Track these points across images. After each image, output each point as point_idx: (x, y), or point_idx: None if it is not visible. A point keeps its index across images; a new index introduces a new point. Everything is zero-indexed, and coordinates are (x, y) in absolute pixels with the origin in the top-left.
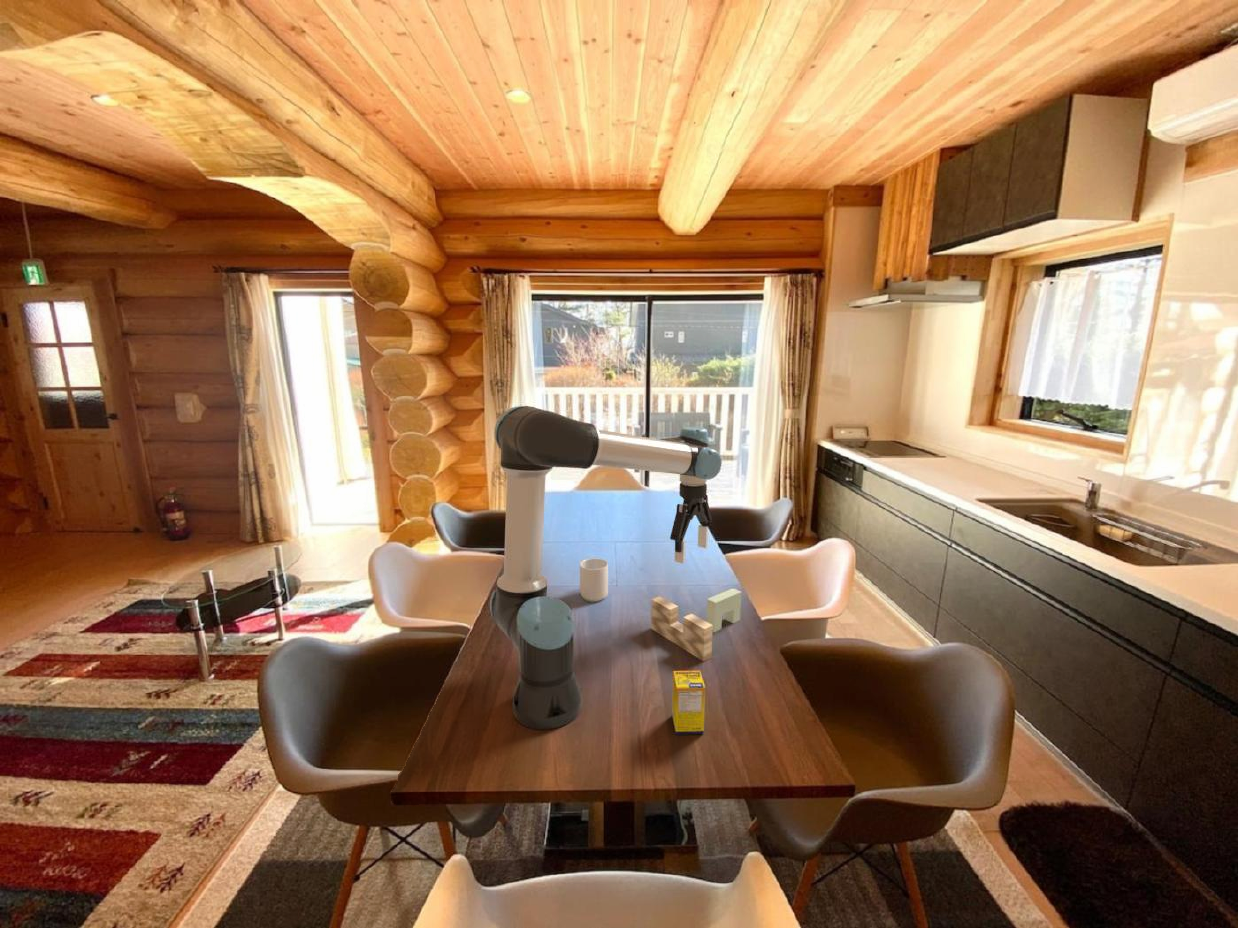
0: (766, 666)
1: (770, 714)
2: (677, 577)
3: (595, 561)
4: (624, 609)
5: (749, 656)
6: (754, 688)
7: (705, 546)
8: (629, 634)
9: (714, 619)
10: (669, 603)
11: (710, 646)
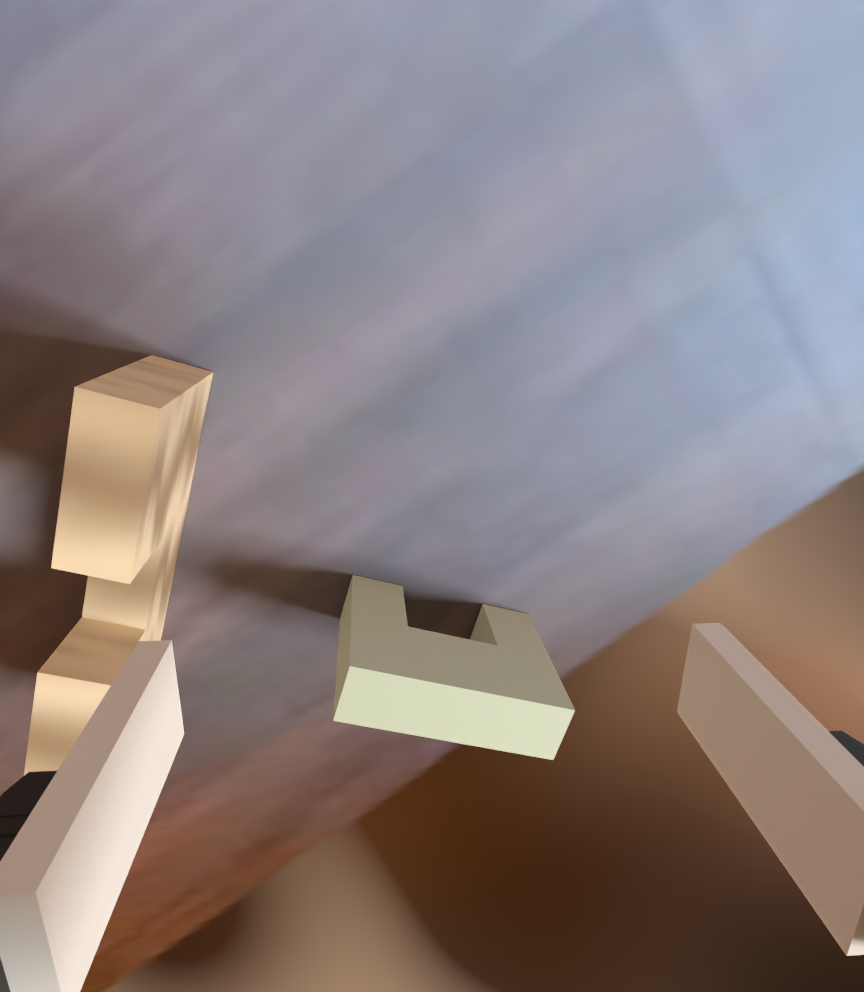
0: (245, 852)
1: None
2: (842, 130)
3: None
4: (223, 64)
5: (264, 790)
6: None
7: (685, 719)
8: (6, 286)
9: (337, 655)
10: (120, 521)
11: None
